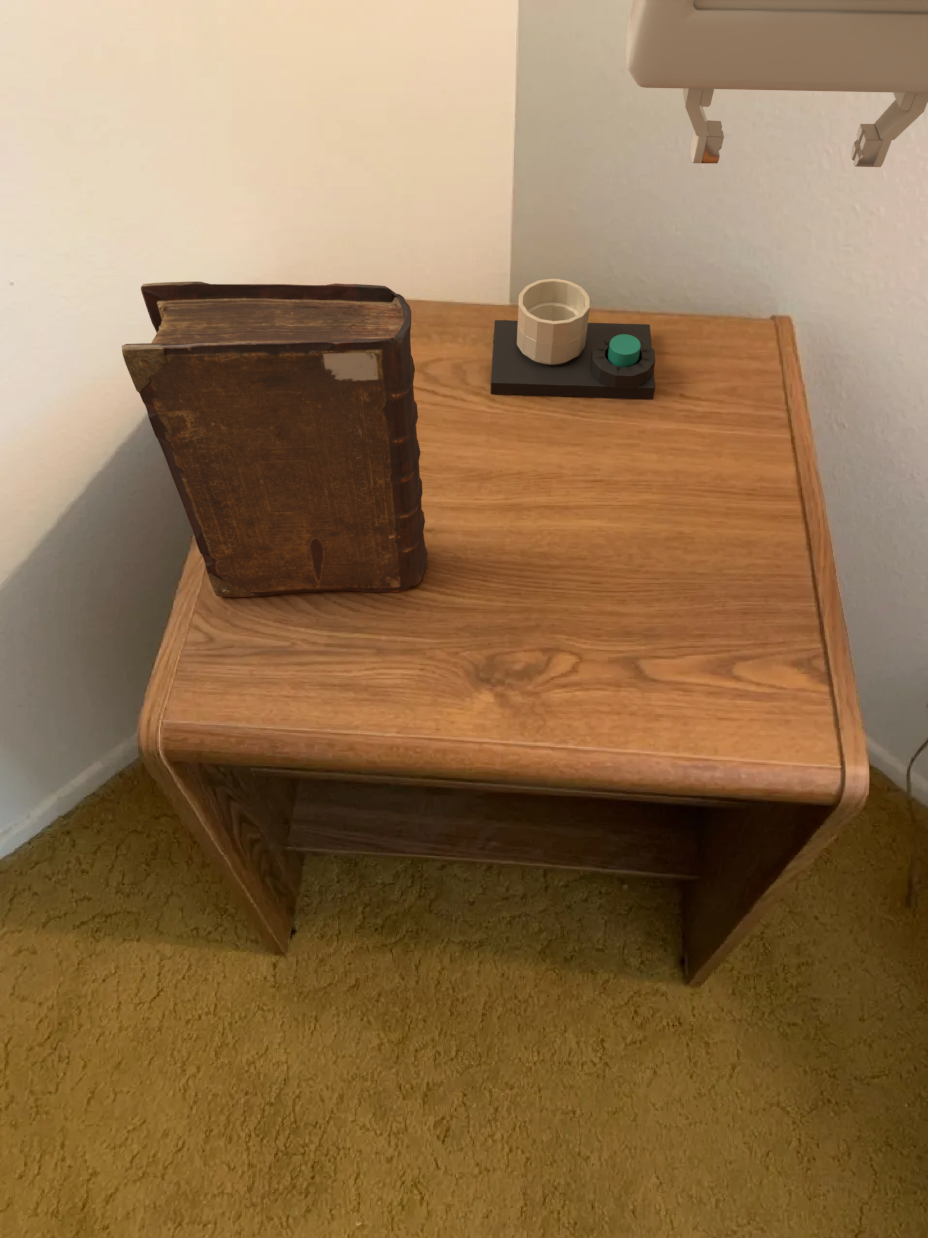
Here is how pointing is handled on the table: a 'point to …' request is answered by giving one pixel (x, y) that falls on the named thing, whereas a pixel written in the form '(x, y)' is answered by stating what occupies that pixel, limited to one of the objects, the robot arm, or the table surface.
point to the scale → (574, 366)
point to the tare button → (624, 350)
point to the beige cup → (552, 321)
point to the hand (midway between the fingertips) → (784, 160)
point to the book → (288, 432)
